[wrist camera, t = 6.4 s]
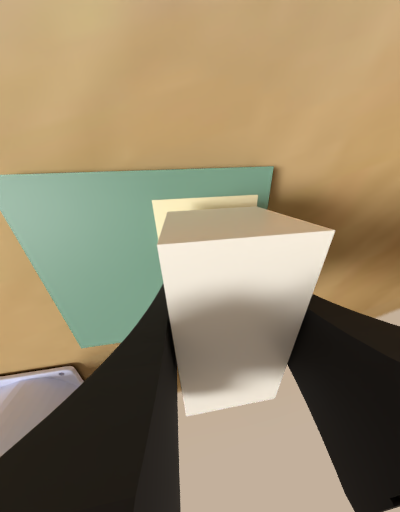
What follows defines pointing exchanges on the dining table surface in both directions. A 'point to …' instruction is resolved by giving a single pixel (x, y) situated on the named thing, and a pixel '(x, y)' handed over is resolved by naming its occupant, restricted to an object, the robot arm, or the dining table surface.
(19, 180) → the board
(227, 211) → the block
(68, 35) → the dining table surface
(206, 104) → the dining table surface
